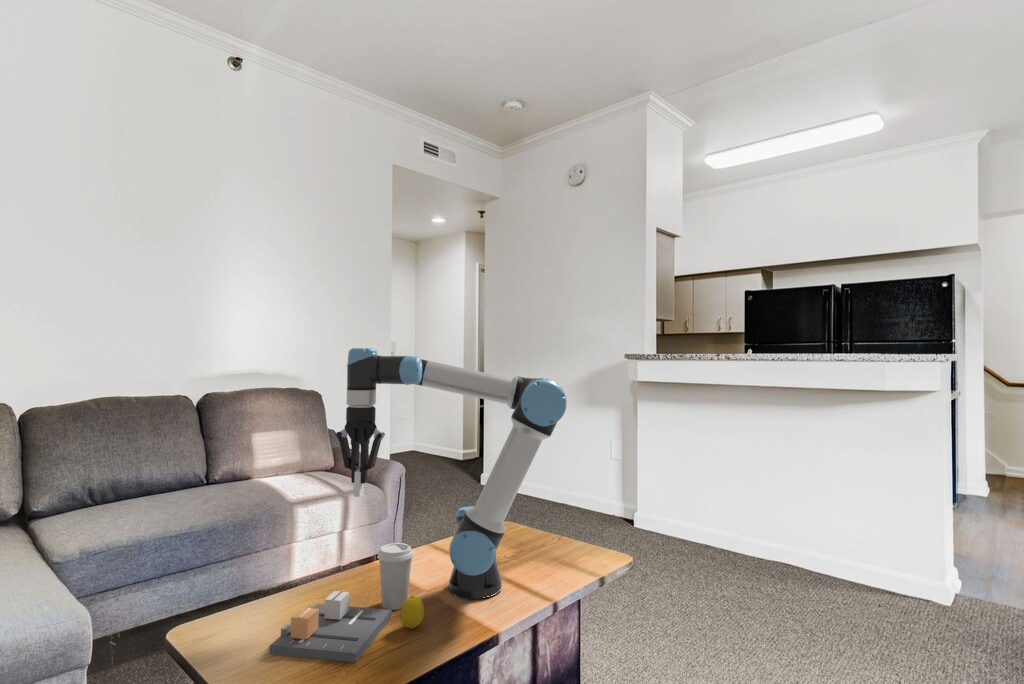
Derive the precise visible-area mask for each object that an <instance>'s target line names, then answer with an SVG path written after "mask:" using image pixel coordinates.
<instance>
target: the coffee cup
mask: <svg viewBox="0 0 1024 684" xmlns="http://www.w3.org/2000/svg"><path fill="white" fill-rule="evenodd" d="M411 547H412V546H411V545H410V544H407V543H404V542H403V543H402V542H392V543H387V544H385V545H382V546H381V547H380V550H379V551H378V553H377V556H376V557H377V559H378V563H379V577H380V578H379V579H380V580H379V581H380V595H381V607H382V609H385V610H392V611H397V610H401V608H402V605H403V602H404V601H405V600H406V599H407V598H408V597H409V587H410V578H411V577H410V575H411V569H412V567H411V566H412V561H413V560H412V558H413V557H414V551H413V549H412V548H411Z"/></svg>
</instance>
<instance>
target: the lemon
mask: <svg viewBox="0 0 1024 684" xmlns="http://www.w3.org/2000/svg"><path fill="white" fill-rule="evenodd" d="M424 616H425V607H424V604H423V601H422V600H421V598H419V597H418V596H415V595H413V594H411V595H410V596H408V598H407V599H406V600H405V601H404V602H403V605H402V608H401V609H400V618H401V622H402V623H403V625H404V626H405V627H407V628H409V629H410V630H413V629H415V627H417V626H419V625H420V624H422V621H423V619H424Z"/></svg>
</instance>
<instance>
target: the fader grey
mask: <svg viewBox="0 0 1024 684" xmlns="http://www.w3.org/2000/svg"><path fill="white" fill-rule="evenodd" d="M324 604H325V615H324V618H326V619H337V620H340V619H341V618H342V617H343V616H344V615H345V614H346V613H347V612H348V611H349V607H350V592H349V591H343V590H340V591H339V590H338V591H337V590H334V591H333V592H332V593H331V594H329V595H328V596H327V597H326V598H324Z"/></svg>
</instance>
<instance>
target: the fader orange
mask: <svg viewBox="0 0 1024 684" xmlns="http://www.w3.org/2000/svg"><path fill="white" fill-rule="evenodd" d="M318 620H319V609H314V608H307V607H302V608H300V609H299V610H298V611H297V612H296V613H295V614H293V615H292V616H291V617H290V625H291V638H300V639H308V638H309V637H310V636H311V635H312V634H313V633H314V632H315V631H316V630H317V629H318Z"/></svg>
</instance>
